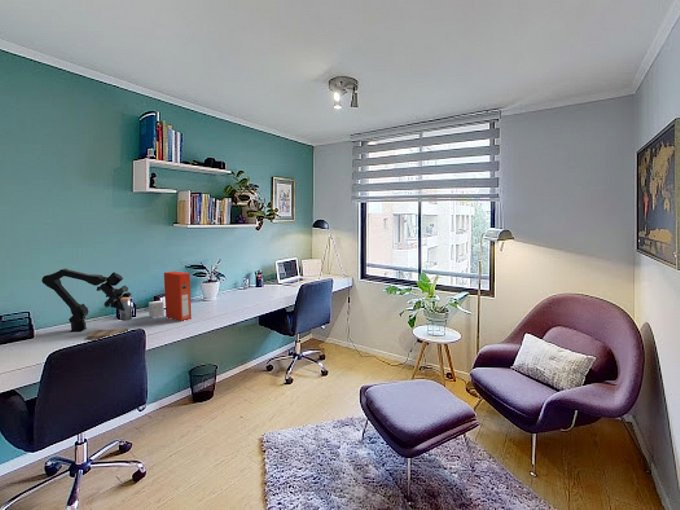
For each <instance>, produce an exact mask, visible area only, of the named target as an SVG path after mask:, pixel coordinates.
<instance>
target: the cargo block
mask: <svg viewBox="0 0 680 510" xmlns="http://www.w3.org/2000/svg"><path fill="white" fill-rule="evenodd" d="M120 300H121V301H129V300H131V296H130V297H123V298H121V299H120ZM120 300H119V301H120Z"/></svg>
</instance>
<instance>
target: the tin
mask: <svg viewBox="0 0 680 510" xmlns="http://www.w3.org/2000/svg"><path fill="white" fill-rule="evenodd" d="M119 302H120V304H121V305H122V306H123V307H124V309H125V311H122V310H120V309H119V315H120V317H119V319H120V322H121V321H122V322H125V321H131V320H133V318H132V316H133V315H132V299H130V300H129V301H120V300H119Z"/></svg>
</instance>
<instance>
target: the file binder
mask: <svg viewBox="0 0 680 510" xmlns="http://www.w3.org/2000/svg"><path fill="white" fill-rule="evenodd" d="M190 278H191V275H190V272H189V273H188V272H182V271H175V270H174V271H173V270H172V271H167V272H163V279H164V280H163V281H164V299H165V300H164V302H165V318H166V317H168V318H167V319H169V318H172V319H171V320H173V319H176V320H175V321H177V320H180V321H179V322H181V321H182V322H185V321H184V320H186V321H189V320H188V319H190V320H192V305H191V304H192V301H191V279H190Z"/></svg>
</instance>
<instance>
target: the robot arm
mask: <svg viewBox="0 0 680 510" xmlns="http://www.w3.org/2000/svg"><path fill="white" fill-rule="evenodd" d="M64 277H68V278H71V279H74V280H75V279H76V280H81V281H83V282H86V283H88V284H90V285H92V286H96V291H97V292H99V291H101V292H102V293H104V294H105V298H107V299H106V301H105V302H104V303H103V305H104V307H105V308H109V307H110V308H113V309H116V310H119V311H120V310H122V311H125V309H124V307H123V306H122V305H121V304H120V301H121V300H120V299H121V298H123V297H130V298H131V296H132V293H131V292H129V291H128V290H129V286H127V285H123V286H121V287H120V288H117V287H116V288H115V286H117V285H119V284H120V282H122V281H124V277H123V276H122V275H120V274H119V273H116V272H112V273H111V274H110V275H109V276H104V275H102V274H89V273H84V272H80V271H76V270H72V269H68V268H61V269H59V270H58V271H56V272H54V273H49V274H46V275H44V276H43V277H42V278H41V282H42V284H43V285H45V286H46V287H47V288H49V289H51V290H53V291H54V292H55V293H56V294H57V296H59V298H60V299H61V300H62V301H63V302H64V303H65V304H66V305H67V307H68V308H69V309H70V313H71V317H70V318H69V319H68V322H69V323H70V330H69V332H70V333H73V331H77V332H83V331H84V329H85V330H86V329H87V322H86V321H85V319H86V318H87V316H88V315H89V312H90V311H89V308H88V307H87V306H86V305H85V304H84V303H78V301H77V300H76V299H75V298H74V296H72V295H71V294H70V293H69V291H68V290H67V289H66V287H64V286H63V285H62V280H61V279H62V278H64Z"/></svg>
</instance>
